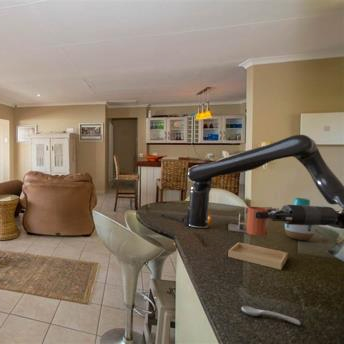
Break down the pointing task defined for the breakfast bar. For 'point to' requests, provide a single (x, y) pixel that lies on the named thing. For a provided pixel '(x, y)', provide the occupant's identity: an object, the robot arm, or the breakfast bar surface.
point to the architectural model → (238, 227)
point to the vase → (300, 230)
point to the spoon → (257, 312)
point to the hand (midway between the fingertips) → (250, 213)
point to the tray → (258, 255)
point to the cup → (256, 222)
